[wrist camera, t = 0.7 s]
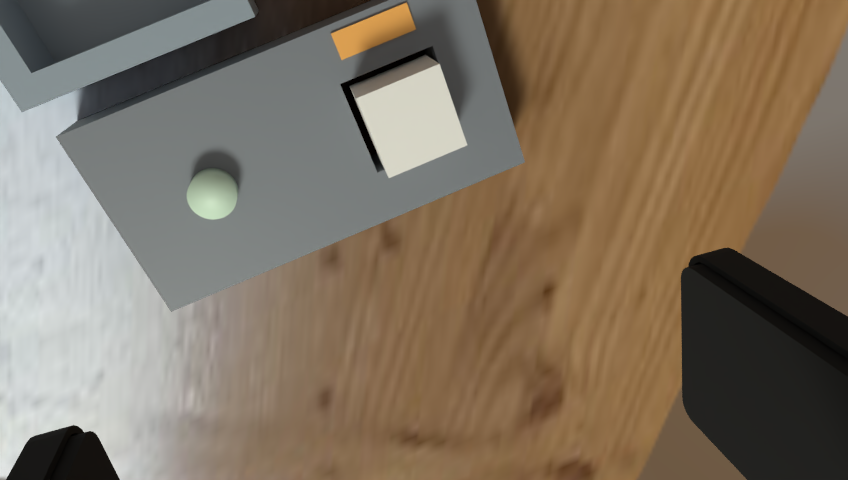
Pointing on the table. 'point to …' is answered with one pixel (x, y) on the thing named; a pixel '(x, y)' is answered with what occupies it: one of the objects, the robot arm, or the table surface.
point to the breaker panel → (284, 147)
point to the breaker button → (409, 115)
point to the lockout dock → (97, 39)
